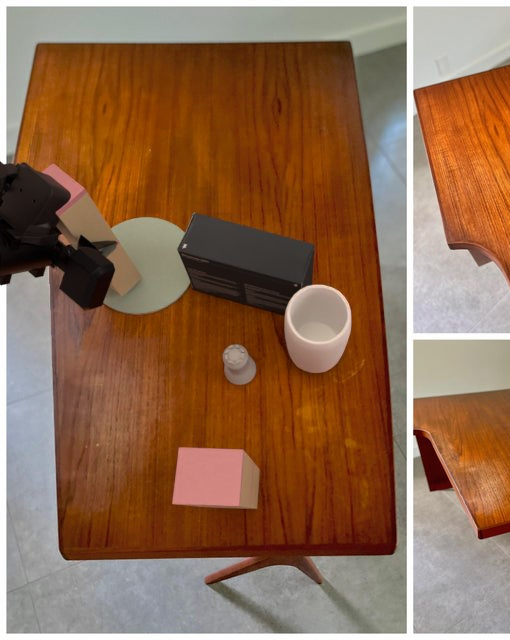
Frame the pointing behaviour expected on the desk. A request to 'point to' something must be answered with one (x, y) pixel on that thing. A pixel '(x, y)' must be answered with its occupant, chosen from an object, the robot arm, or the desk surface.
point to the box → (245, 263)
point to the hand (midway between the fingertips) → (101, 232)
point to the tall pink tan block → (216, 478)
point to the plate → (150, 266)
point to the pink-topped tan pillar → (92, 229)
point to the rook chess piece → (238, 365)
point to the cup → (317, 327)
